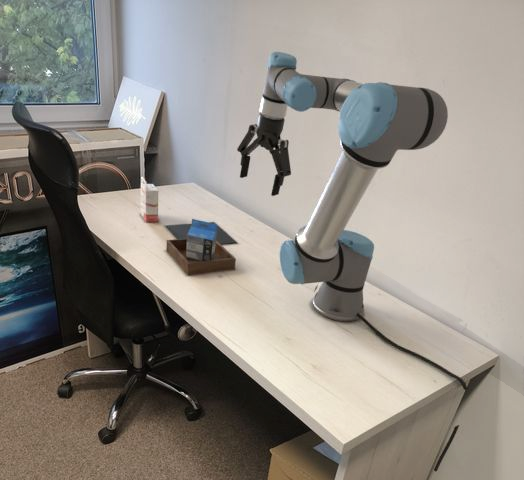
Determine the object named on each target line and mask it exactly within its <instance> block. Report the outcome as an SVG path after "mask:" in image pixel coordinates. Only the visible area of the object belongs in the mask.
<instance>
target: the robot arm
mask: <svg viewBox="0 0 524 480" xmlns="http://www.w3.org/2000/svg"><path fill="white" fill-rule="evenodd" d="M297 60H298V59H297V57H296V56H295V55H292V54H290V53H286V52H282V51H273V52H271V53H270V55H269V58H268V63H267V66H266V72H265V78H264V85H263V91H262V97H261V101H260V107H259V112H260V113H258V120H257V123H254V124H250V125H249V126H248V130H247V132H246V134H245V135H244V136H243V139H242V140H241V142H240V143H239V145H238V147H237V149H236V151H237V152H238V153H240V155H241V157H240V164H239V165H240V166H241V167H240V172H239V173H240V174H239V178H240V179H243V178H247V177H248V176H249V175H248V174H249V168H250V162H251V156H250V155H251V153H253V152H254V151H255V150H256V149H257V148H258V147H259V146H260V147H261V148H264V149H265V150H267V151H269V154H270V155H271V158H272V160H273V163H274V166H275V170H276V172H277V174H275V175H274V179H273V186H272V189H271V194H270V195H271V196H272V197H275V196H277V195H278V196H279V194H280V190H281V187H282V186H284V185H283V184H284V181H285V178H286V177H289V176H291V175H292V169H291V161H290V154H289V144H290V142H289V140H288V139H282V137H281V134H282V132H283V130H284V125H285V121H286V120H285V117H286V115H287V110H288V107H289V108H291V109H292V110H294V111H296V112H300V113H301V112H306V111H308V110H310V109H325V110H330V111H331V110H332V111H336V112H338V113H339V115H338V119H339V122H338V124H337V130H338V131H337V132H338V136H339V139H340V140H339V143H340V147H341V149H342V152H341V154H340V156H339V159H338V160H337V162H336V164H335V166H334V168H333V171H332V173H331V175H330V177H329V179H328V181H327V184H326V185H325V188H324V189H323V192H322V194H321V195H320V198H319V201H318V202H317V204H316V206H315V209H314V210H313V212H312V215H311V217H310V219H309V221H308V223H307V225H304V226H302V227H300V228H299V229H298V230H297V233H296V235H295V237H294V239H287V240H285V241H283V242H282V243H281V246H280V248H279V263H280V264H279V265H280V268H281V271H282V274H283V277H284V278H285V280H286V281H287V283H289V284H292V285H305V284H306V285H307V284H317V283H321V285H320V286H319V284H317V285H316V286H315V288H314V291H313V292H314V293H315V292H316V290H317V289H318V286H319V289H318V290H317V292H316V293H315V294H314V296H313V299H312V308H313V309H314V310H315V312H317V313H318V314H319V315H321V316H322V317H325V318H327V319H330V320H333V321H336V322H345V323H347V322H354V321H357V320H361V321H362V322H363V323H364V324H365V325H366V326H367V327H368V328H370V329H371V330H372V331H373V332H374V333H375V334H376V335H378V336H379V337H380V338H381V339H383V341H385V342H386V343H388V344H389V345H391V346H393V347H395V349H398V350H400V351H402V352H404V353H406V354H409V355H412V356H413V357H416V358H418V359H420V360H422V361H424V362H426V363H428V364H430V365H431V366H433V367H435V368H436V369H438V370H440V371H442V372H443V373H445V374H446V375H448V376H450V377H451V378H453V379H455V380H457V381H458V382H459V383H460V385H461V386H462V389H463V390H465V391H468V387H467V384H466V382H465V381H464V379H462V378H461V377H460V376H459V375H457V374H455V373H453V372H451V371H449V370H448V369H446V368H445V367H443V366H442V365H440V364H438V363H436V362H434V361H433V360H431V359H429V358H428V357H425V356H423V355H421V354H419V353H417V352H415V351H412V350H410V349H408V348H406V347H403V346H401V345H399V344H397V343H396V342H394V341H393V340H391V339H390V338H388V337H387V336H385V335H384V334H383V333H381V331H379V330H378V329H377V328H376V327H375V326H373V325H372V323H370V322H369V321H368V320H367V319H366V318H364V316H363V314H364V309H365V308H364V307H365V305H364V288H365V284H366V280H367V278H368V277H367V276H368V273H369V270H370V267H371V263H372V260H373V258H374V257H373V255H374V251H375V244H374V243H373V241H372V240H371V239H370V238H369V237H367V236H365V235H363V234H361V233H358V232H357V231H356V232H355V231H352V230H347V229H345V228H346V226H347V225H348V223H349V222H350V220H351V218H352V216H353V214H354V213H355V211H356V209H357V207H358V205H359V203H360V202H361V200H362V198H363V196H364V195H365V193H366V191H367V189H368V187H369V186H370V184H371V182H372V181H373V179H374V177H375V175H376V173H377V172H378V170H379V169H384V168H386V167H388V166H389V165H390V163H391V161H392V160H393V158H394V156H395V154H396V153H397V151H399V150H400V151H401V150H402V151H417V150H422V149H424V148H427V147H430V146H431V145H432V144H434V143H435V142H436V141H437V140H438V139H439V138H441V136H442V134H443V132H444V131H445V129H446V126H447V123H448V119H449V118H448V117H449V113H448V111H449V110H448V107H447V103H446V102H445V101H446V100H444V98H443V97H442V95H441V94H440V93H438V92H437V91H435V90H432V89H430V88H426V87H416V86H406V85H399V84H398V85H397V84H390V83H388V82H382V81H381V82H380V81H379V82H367V83H366V82H365V83H361V82H357V81H356V80H353V79H349V78H338V77H329V76H328V77H327V76H320V75H312V74H303V73H299V72H298V71H297V62H298V61H297ZM255 135H256V138H255V139H254V137H255ZM253 139H254V140H253ZM252 140H253V141H252ZM251 142H252V143H251ZM459 427H460V424H458V425H455V426H454V427H453V430H452V433H451V434H450V437H449V438H448V440H447V442H446V444H445V446H444V448H443V450H442V452H441V454H440V456H439V457H438V460H437V462H436V464H435V465H434V468H433V471H434V472H438V470H439V468H440V466H441V464H442V461H443V459H444V457H445V456H446V454H447V452H448V450H449V448H450V446H451V445H452V443H453V441H454V438H455V436H456V434H457V432H458V429H459Z"/></svg>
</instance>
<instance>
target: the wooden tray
mask: <svg viewBox="0 0 524 480" xmlns="http://www.w3.org/2000/svg"><path fill="white" fill-rule="evenodd" d="M186 248H187V238H184V239H177V238H174V239H173V238H172V239H166V249H165V251H166V252H167V254H168V255H169V256H170V257H171V258H172V259H173V260H174V262H175V263H176V264H177V265H178V266H179V267H180V269H181V270H182V271H183V272H184V273H185V275H187V276H193V275H201V274H209V273H217V272H218V273H219V272H224V271H225V272H226V271H233V270H235V269H236V260H237V258H236V257H235V256H234V255H233V254H232V253H230V252H229V251H228V250H227V248H225V247H224V246H223V245H221V244H220V243H219V242H218V241H216V244H215V255H214V260H209V261H198V260H194V259H189V258H186Z"/></svg>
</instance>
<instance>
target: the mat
mask: <svg viewBox="0 0 524 480" xmlns="http://www.w3.org/2000/svg"><path fill="white" fill-rule="evenodd" d="M209 223H213V224H217V223H216V222H214V221H211V222H209ZM191 225H192V223H182V224H168V225H165V228H167V230H168V231H169V232H170V233H171V234H172V235H173V236H174V237H175V239H184V238H187V234H188V232H189V230H190V228H191ZM200 226H203V227H207V228H208V226H206V225H205V224H203V225H201V224H200ZM216 241H218V242H219V243H220V244H221V245H222V246H223V245H231V244H233V245H234V244H237V243H238V242H237V241H236V240H235V239H234V238H233V237H232V236H230V235H229V234H228V233H227V232H226V231H225V230H224V229H222V228H221V227H220V226H219V225H218V224H217V231H216Z"/></svg>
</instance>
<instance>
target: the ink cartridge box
mask: <svg viewBox="0 0 524 480" xmlns="http://www.w3.org/2000/svg"><path fill="white" fill-rule="evenodd" d="M140 215H141V217H142V218H143V220H144V221H145V222H146V223H151V222H153V223H155V222H157V223H158V222H159V190H158V188H157V187H156V186H155V185H154V183H148V182H147V180H146V179H145V178H144V176H141V177H140Z"/></svg>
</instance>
